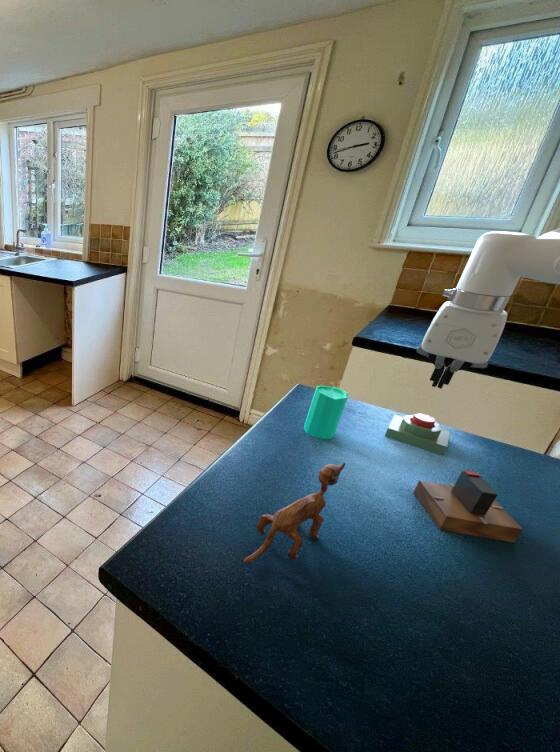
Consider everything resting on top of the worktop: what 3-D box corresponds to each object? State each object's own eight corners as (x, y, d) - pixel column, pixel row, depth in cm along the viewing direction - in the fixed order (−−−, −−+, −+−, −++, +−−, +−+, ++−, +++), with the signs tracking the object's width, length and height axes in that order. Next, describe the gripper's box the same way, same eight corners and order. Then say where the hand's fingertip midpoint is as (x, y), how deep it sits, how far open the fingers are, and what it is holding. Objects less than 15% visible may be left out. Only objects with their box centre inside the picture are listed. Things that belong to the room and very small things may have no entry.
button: (433, 424, 90) (436, 417, 90) (431, 431, 88) (434, 424, 87) (412, 418, 93) (415, 411, 92) (410, 424, 90) (413, 417, 90)
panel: (477, 502, 74) (485, 488, 73) (515, 544, 66) (525, 530, 65) (411, 491, 77) (418, 478, 75) (440, 531, 68) (448, 517, 67)
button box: (446, 439, 91) (454, 424, 90) (443, 455, 86) (451, 439, 85) (390, 422, 98) (396, 407, 96) (384, 436, 93) (390, 421, 91)
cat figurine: (261, 585, 60) (285, 515, 54) (224, 552, 65) (242, 484, 59) (334, 538, 67) (362, 471, 61) (296, 511, 72) (318, 447, 67)
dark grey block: (485, 515, 67) (499, 493, 65) (470, 513, 68) (483, 491, 66) (464, 492, 72) (476, 471, 70) (451, 490, 73) (462, 469, 71)
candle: (299, 431, 95) (313, 384, 89) (308, 421, 98) (322, 376, 93) (329, 442, 91) (346, 394, 85) (337, 431, 94) (354, 385, 89)
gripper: (425, 296, 81) (390, 379, 89) (536, 314, 71) (485, 405, 79) (429, 289, 85) (395, 368, 94) (534, 305, 76) (486, 391, 84)
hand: (437, 385), depth 86 cm, fingers closed
